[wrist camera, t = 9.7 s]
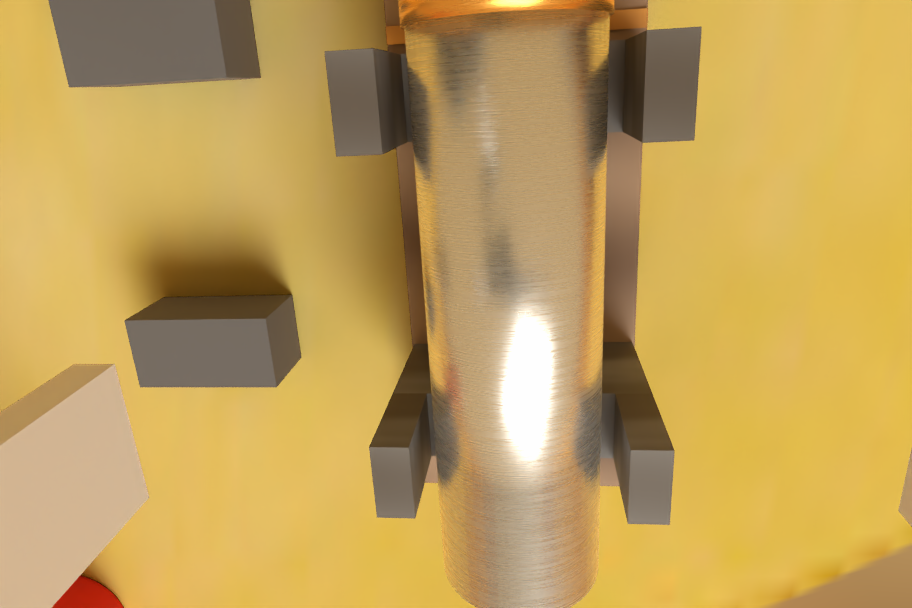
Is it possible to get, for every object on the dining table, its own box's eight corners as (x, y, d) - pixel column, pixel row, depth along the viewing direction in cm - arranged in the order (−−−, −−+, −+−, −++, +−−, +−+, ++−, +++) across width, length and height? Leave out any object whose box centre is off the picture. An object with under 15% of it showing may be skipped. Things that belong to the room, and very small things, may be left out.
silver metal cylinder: (410, -35, 18) (373, -78, 13) (600, -49, 17) (635, -100, 12) (448, 508, 24) (432, 619, 19) (590, 508, 23) (612, 622, 18)
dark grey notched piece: (387, -64, 23) (296, -155, 14) (643, -86, 22) (721, -201, 13) (428, 463, 30) (386, 624, 21) (624, 466, 29) (665, 636, 20)
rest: (102, 5, 25) (47, -4, 22) (248, -6, 24) (211, -18, 21) (177, 358, 30) (140, 387, 27) (301, 357, 29) (276, 387, 26)
